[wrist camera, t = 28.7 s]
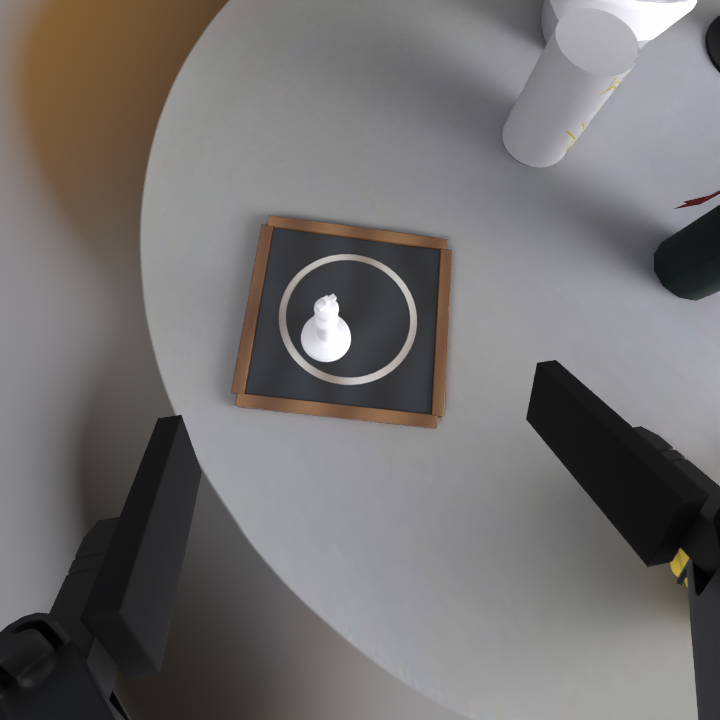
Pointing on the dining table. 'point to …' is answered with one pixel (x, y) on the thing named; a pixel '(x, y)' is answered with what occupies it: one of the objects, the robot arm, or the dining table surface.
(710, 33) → the phone dock
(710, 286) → the wine bottle
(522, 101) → the white cylinder
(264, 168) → the dining table surface
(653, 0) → the bowl
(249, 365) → the slate
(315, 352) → the chess piece
